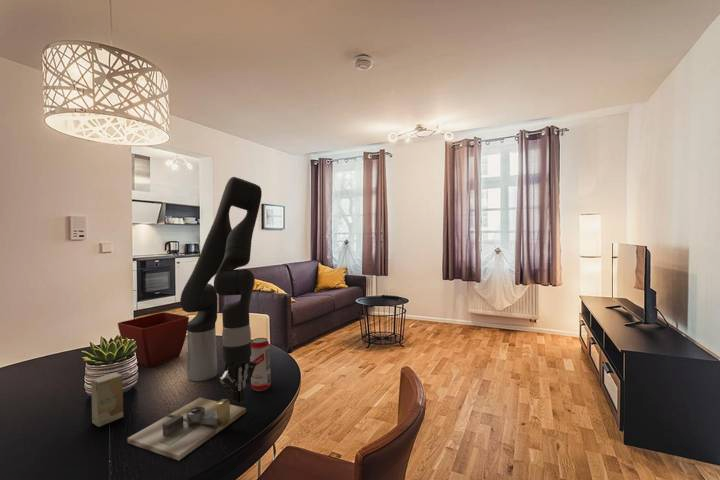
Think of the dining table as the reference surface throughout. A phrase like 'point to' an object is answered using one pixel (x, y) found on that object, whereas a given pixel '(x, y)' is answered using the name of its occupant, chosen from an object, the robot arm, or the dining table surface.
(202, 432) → the door board
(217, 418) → the latch arm
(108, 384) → the skincare box
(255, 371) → the beer can
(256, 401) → the dining table surface
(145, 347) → the plant pot
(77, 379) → the dining table surface
